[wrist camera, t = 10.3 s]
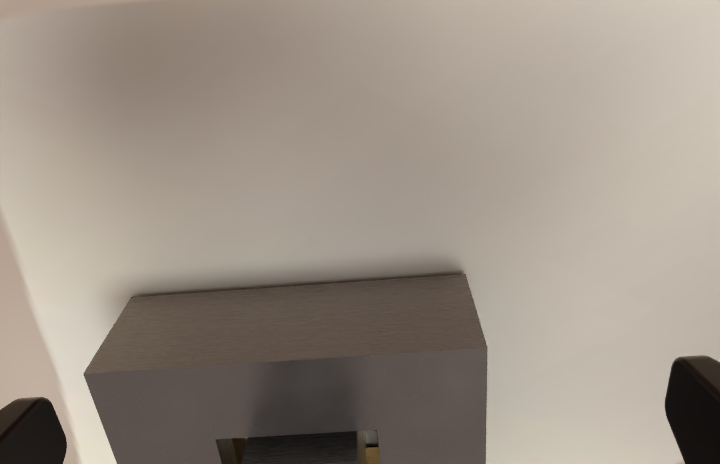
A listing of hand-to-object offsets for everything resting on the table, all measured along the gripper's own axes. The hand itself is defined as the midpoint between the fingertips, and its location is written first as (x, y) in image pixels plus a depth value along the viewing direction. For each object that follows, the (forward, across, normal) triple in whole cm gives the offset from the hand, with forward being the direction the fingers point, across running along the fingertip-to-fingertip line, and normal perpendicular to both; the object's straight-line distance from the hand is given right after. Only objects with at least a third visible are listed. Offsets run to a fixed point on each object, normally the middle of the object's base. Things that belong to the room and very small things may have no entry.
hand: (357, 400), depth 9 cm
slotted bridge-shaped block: (+13, +3, +12) cm, 18 cm away
